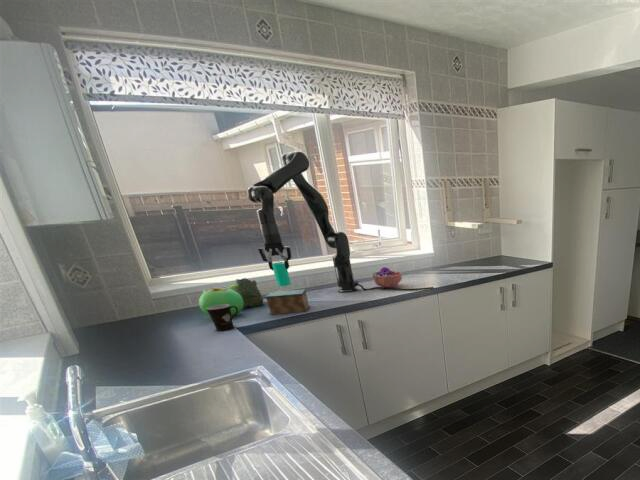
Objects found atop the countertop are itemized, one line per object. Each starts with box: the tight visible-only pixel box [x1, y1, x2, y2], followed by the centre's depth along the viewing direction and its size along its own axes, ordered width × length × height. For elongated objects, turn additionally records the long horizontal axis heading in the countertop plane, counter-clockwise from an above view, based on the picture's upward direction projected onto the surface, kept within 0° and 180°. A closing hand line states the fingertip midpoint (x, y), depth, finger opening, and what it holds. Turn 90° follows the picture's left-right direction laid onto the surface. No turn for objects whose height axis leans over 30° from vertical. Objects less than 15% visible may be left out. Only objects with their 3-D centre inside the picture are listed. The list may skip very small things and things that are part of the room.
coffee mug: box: [206, 304, 238, 332], centre depth 187 cm, size 12×9×10 cm
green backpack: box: [234, 277, 264, 310], centre depth 218 cm, size 11×19×15 cm, turn 115°
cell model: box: [371, 267, 403, 288], centre depth 254 cm, size 17×20×11 cm
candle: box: [272, 261, 292, 287], centre depth 205 cm, size 6×6×12 cm
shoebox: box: [265, 288, 310, 315], centre depth 212 cm, size 17×11×9 cm, turn 104°
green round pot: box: [198, 283, 244, 317], centre depth 203 cm, size 18×17×15 cm
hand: (280, 269), depth 205 cm, fingers closed on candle, 6 cm apart
